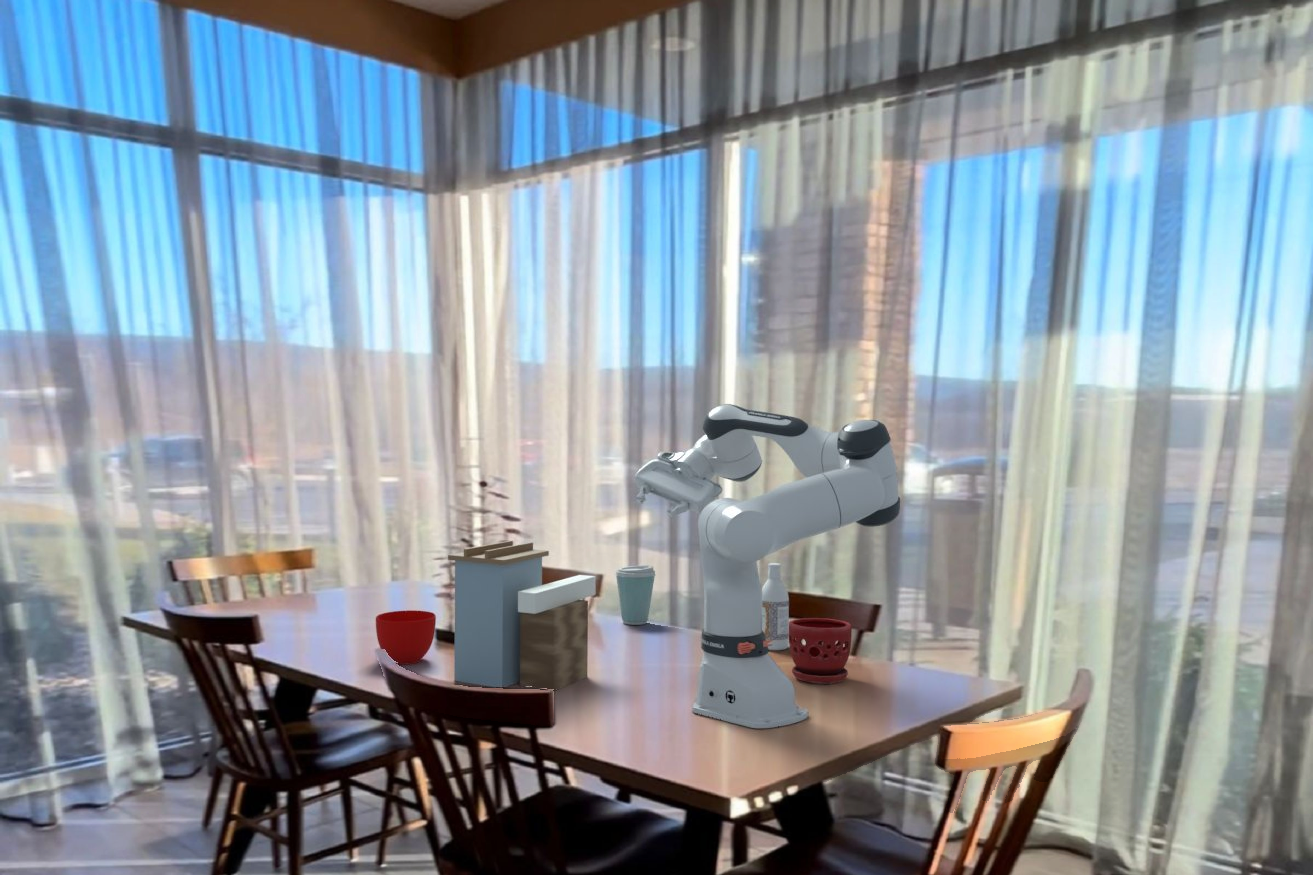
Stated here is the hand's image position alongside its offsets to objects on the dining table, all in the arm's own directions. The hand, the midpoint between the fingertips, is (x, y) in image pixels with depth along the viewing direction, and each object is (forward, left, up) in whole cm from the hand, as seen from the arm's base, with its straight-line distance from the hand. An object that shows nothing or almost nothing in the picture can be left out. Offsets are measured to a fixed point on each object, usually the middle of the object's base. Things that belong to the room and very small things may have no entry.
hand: (653, 507), depth 231 cm
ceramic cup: (+30, +47, -34) cm, 66 cm away
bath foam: (-10, -29, -34) cm, 46 cm away
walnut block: (-6, +30, -34) cm, 45 cm away
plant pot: (-36, -17, -34) cm, 52 cm away
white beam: (-5, +28, -18) cm, 34 cm away
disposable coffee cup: (+32, -19, -34) cm, 51 cm away
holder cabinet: (+4, +37, -34) cm, 51 cm away
